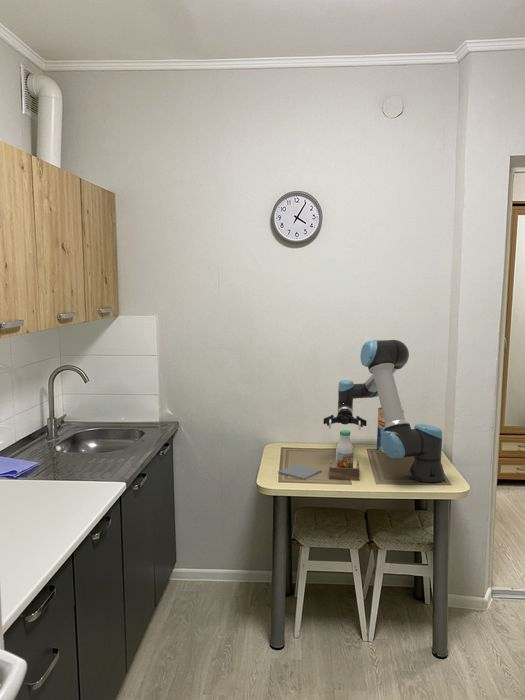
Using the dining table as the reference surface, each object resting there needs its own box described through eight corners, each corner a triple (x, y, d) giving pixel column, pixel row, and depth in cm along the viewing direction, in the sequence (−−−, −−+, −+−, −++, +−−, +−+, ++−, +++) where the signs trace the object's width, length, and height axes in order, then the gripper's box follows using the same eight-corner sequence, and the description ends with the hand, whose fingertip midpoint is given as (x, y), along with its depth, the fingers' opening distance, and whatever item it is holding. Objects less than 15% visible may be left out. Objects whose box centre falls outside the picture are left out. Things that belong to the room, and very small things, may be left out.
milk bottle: (331, 474, 258) (332, 430, 256) (343, 470, 263) (344, 427, 261) (345, 478, 253) (346, 434, 250) (356, 475, 258) (357, 431, 255)
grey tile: (321, 471, 262) (321, 470, 262) (304, 479, 251) (304, 478, 251) (296, 465, 270) (296, 463, 270) (278, 473, 260) (278, 471, 259)
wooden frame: (329, 469, 264) (330, 459, 264) (358, 471, 263) (358, 460, 262) (329, 478, 253) (329, 467, 252) (359, 480, 251) (359, 469, 250)
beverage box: (386, 448, 300) (387, 406, 297) (402, 453, 290) (403, 410, 288) (376, 450, 296) (378, 407, 293) (392, 455, 287) (393, 412, 284)
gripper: (370, 423, 287) (371, 435, 266) (319, 421, 291) (317, 433, 270) (370, 409, 286) (372, 419, 265) (320, 406, 290) (317, 417, 269)
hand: (344, 426), depth 268 cm, fingers open, 13 cm apart
